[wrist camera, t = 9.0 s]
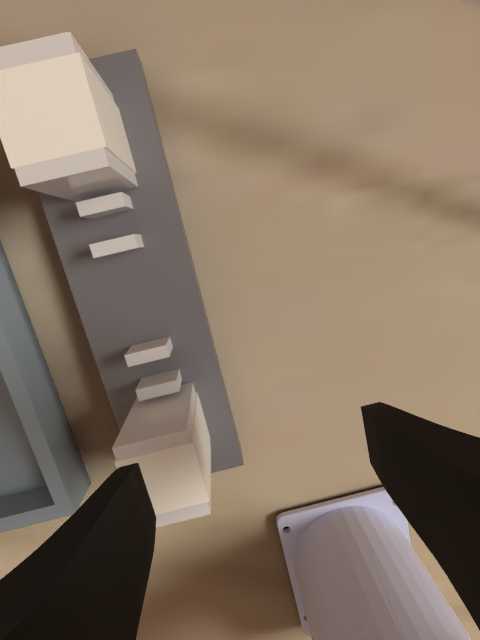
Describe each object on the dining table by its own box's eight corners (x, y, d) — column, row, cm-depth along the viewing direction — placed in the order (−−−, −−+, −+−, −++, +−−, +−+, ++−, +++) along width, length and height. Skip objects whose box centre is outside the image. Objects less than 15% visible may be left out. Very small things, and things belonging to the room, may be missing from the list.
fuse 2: (213, 447, 20) (213, 513, 15) (156, 461, 20) (138, 532, 15) (194, 381, 19) (188, 429, 15) (135, 396, 19) (109, 448, 14)
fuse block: (242, 452, 22) (246, 483, 19) (143, 477, 22) (133, 511, 19) (140, 61, 17) (127, 28, 14) (13, 90, 17) (-24, 62, 14)
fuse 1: (140, 186, 17) (111, 165, 12) (73, 202, 17) (17, 187, 12) (114, 93, 16) (72, 30, 11) (43, 109, 16) (-29, 53, 11)
